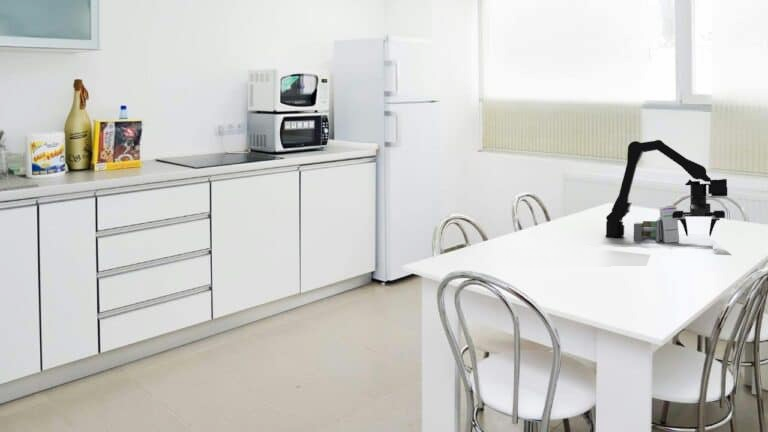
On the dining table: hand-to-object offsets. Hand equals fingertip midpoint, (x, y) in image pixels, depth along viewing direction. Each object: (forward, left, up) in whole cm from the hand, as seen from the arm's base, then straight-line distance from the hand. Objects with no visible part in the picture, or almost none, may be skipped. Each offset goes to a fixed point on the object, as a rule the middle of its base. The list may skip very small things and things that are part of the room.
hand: (698, 236), depth 265 cm
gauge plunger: (-17, 0, -3) cm, 17 cm away
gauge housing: (-17, 0, -3) cm, 17 cm away
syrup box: (-10, 0, -3) cm, 11 cm away
